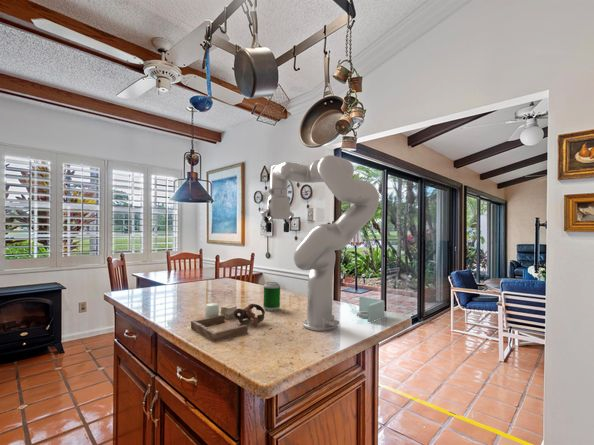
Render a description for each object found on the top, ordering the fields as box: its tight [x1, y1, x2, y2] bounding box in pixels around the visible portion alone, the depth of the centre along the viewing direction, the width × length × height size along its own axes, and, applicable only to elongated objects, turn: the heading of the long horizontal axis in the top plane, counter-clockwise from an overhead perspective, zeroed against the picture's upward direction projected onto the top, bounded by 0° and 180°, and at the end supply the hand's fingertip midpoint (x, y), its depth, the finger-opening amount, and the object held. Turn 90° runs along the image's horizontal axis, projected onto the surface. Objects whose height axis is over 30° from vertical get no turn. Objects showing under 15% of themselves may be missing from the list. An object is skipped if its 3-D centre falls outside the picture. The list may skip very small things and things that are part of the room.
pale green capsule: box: [205, 302, 220, 318], centre depth 123 cm, size 5×5×6 cm
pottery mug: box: [234, 303, 266, 327], centre depth 119 cm, size 12×10×8 cm
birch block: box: [220, 304, 238, 320], centre depth 127 cm, size 4×4×4 cm
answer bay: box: [190, 314, 248, 342], centre depth 111 cm, size 17×13×3 cm
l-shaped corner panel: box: [356, 295, 386, 323], centre depth 131 cm, size 12×12×8 cm
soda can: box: [262, 281, 281, 312], centre depth 140 cm, size 8×8×12 cm
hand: (277, 232), depth 135 cm, fingers open, 9 cm apart
